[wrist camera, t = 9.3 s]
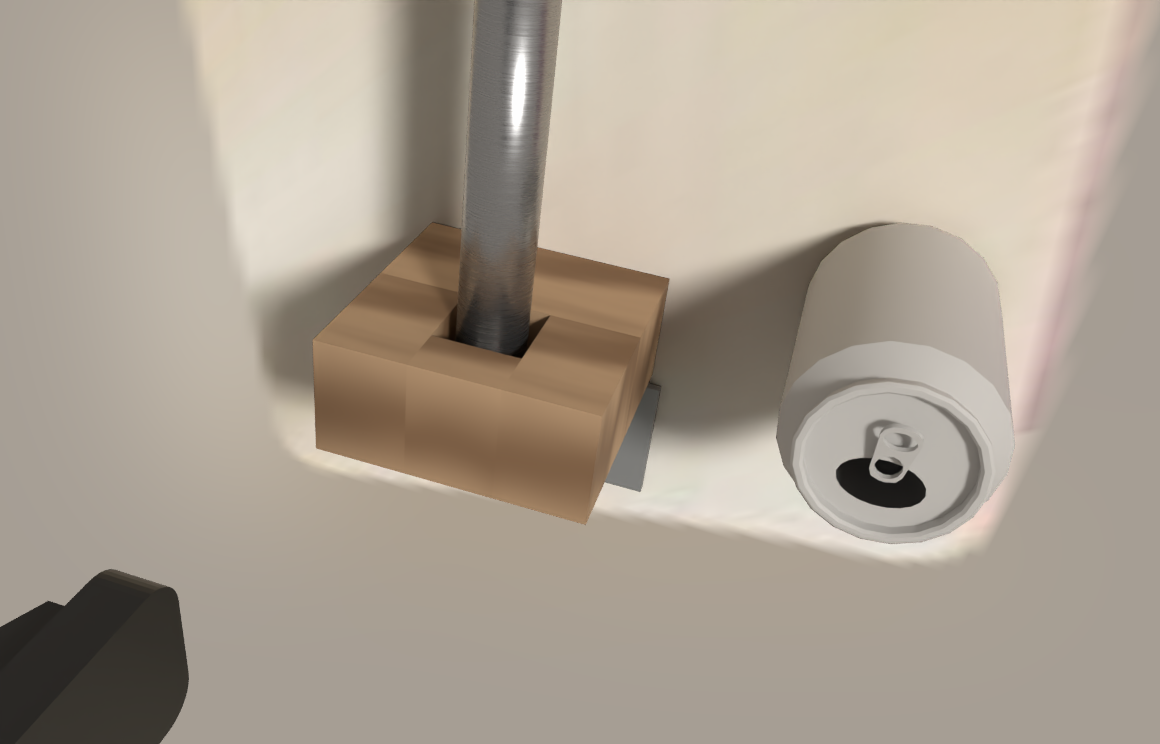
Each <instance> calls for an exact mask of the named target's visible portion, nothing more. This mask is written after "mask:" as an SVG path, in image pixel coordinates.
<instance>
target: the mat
mask: <svg viewBox="0 0 1160 744" xmlns="http://www.w3.org/2000/svg"><path fill="white" fill-rule="evenodd" d="M660 389H661V386H657V385H653V384H649V383H648V385H647V387H646V390H645V392H644V394H643V396H642V399H641V401H640V403H639V405H638V408H637V410H636V412H635V414H634V417H633V419H632V421H631V423H630V426H629V428H628V430H627V432H626V435H625V437H624V439H623V442H622V444H621V446H620V448H619V451H618V453H617V455H616V457H615V460H614V462H613V464H612V466H611V469H610V471H609V473H608V475H607V478H606V480H605V482H606V483H610V484H613V485H617V486H621V487H624V488H628V489H631V490H635V491H639V492H640V491H641V489H642V485H643V480H644V474H645V469H646V464H647V458H648V453H649V448H650V442H651V437H652V432H653V426H654V421H655V416H656V410H657V405H658V400H659V395H660Z"/></svg>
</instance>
